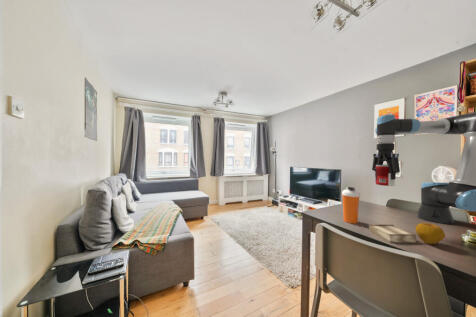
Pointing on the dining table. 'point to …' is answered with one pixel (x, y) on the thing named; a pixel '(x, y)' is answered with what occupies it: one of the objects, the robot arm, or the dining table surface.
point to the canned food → (382, 175)
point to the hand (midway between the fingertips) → (384, 184)
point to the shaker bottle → (350, 205)
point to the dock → (392, 233)
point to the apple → (430, 233)
